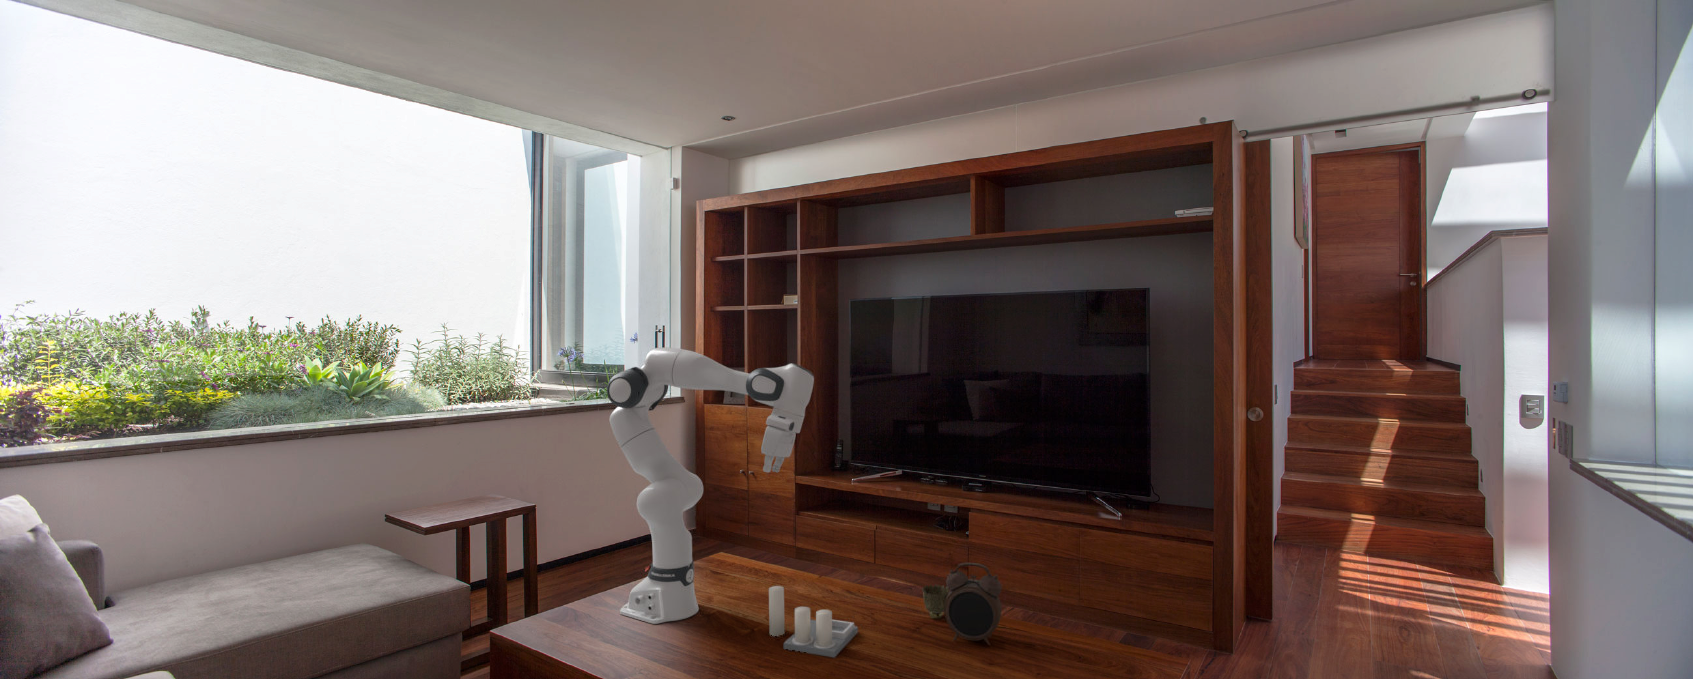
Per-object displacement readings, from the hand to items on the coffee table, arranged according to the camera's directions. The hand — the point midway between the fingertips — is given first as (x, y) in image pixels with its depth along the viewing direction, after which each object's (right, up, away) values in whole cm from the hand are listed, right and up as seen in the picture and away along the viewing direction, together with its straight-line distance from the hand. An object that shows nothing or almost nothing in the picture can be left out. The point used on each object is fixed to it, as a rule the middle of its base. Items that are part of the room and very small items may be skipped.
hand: (770, 472), depth 198 cm
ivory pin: (+2, -42, -4) cm, 43 cm away
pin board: (+14, -42, -8) cm, 45 cm away
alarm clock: (+53, -42, -10) cm, 69 cm away
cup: (+46, -42, +6) cm, 62 cm away
